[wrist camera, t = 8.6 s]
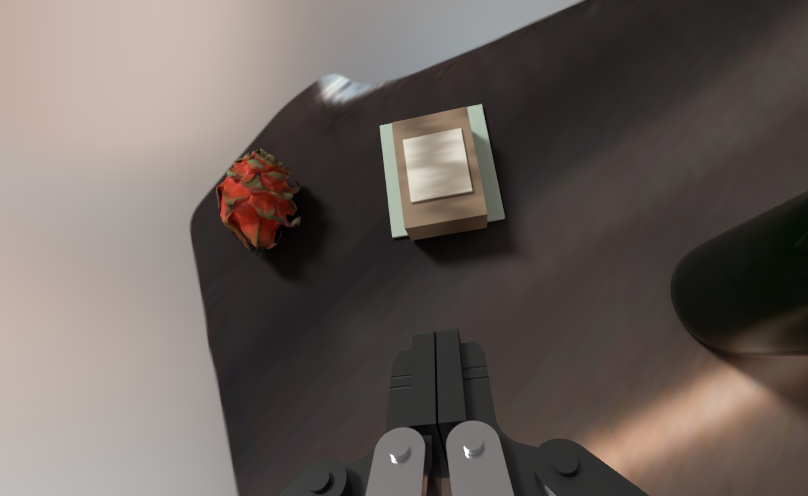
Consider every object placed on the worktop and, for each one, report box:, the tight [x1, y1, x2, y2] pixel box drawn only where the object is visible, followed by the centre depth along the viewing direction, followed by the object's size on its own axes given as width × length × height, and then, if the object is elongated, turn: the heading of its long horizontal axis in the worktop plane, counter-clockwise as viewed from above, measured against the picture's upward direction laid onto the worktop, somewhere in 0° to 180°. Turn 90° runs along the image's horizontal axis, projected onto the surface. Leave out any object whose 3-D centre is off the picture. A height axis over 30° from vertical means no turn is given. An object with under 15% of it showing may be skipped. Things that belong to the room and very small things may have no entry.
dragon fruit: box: [216, 149, 301, 256], centre depth 44 cm, size 8×8×12 cm
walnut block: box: [392, 107, 487, 241], centre depth 41 cm, size 8×4×12 cm
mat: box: [380, 104, 505, 238], centre depth 44 cm, size 12×14×1 cm
